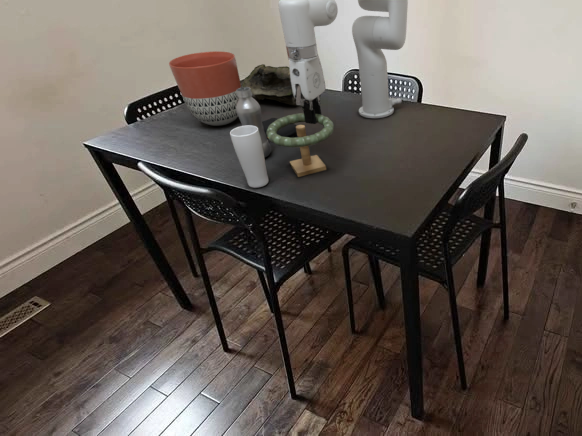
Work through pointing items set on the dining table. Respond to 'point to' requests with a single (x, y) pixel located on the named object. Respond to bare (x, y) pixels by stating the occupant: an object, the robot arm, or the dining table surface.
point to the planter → (208, 85)
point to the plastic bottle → (251, 114)
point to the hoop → (299, 140)
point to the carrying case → (284, 131)
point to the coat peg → (306, 158)
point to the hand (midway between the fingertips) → (313, 120)
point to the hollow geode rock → (271, 84)
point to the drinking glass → (250, 154)
